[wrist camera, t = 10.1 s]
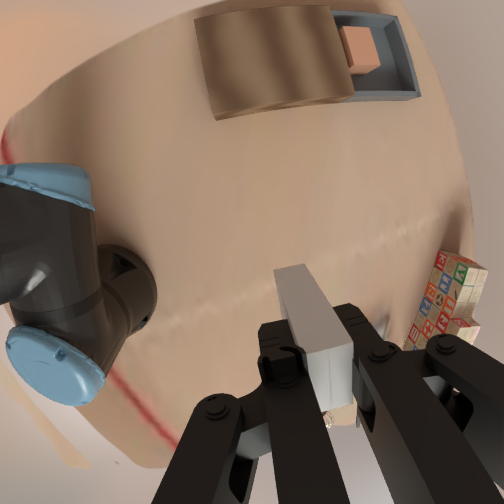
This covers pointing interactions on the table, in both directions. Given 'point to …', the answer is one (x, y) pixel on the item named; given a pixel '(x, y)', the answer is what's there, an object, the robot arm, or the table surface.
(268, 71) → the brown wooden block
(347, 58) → the salmon orange block
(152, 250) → the table surface
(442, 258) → the stack of blocks
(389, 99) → the box
